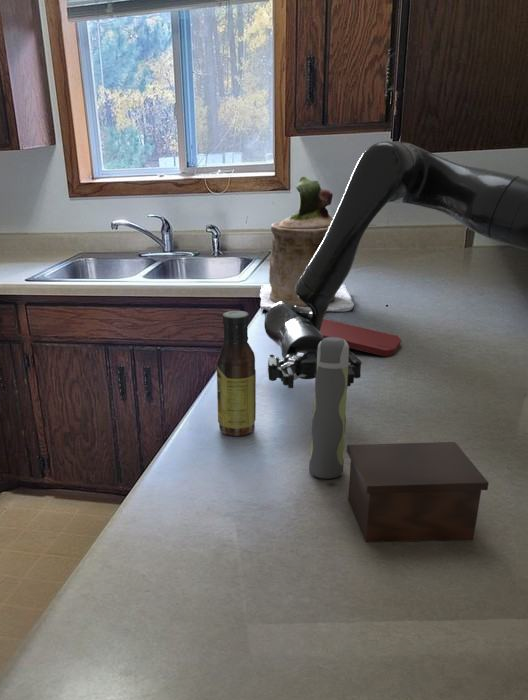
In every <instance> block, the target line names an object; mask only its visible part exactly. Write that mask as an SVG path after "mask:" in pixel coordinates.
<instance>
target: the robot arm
mask: <svg viewBox="0 0 528 700" xmlns="http://www.w3.org/2000/svg"><path fill="white" fill-rule="evenodd" d="M396 203H397V204H398V203H400V204H408V205H414V206H419V207H422V208H426V209H431V210H434V211H438V212H441V213H443V214H445V215H447V216H449V217H451V218H452V219H454V220H456V221H457V222H458V223H460V224H461V225H463V226H464V227H466V228H468V229H469V230H470V231H473V232H475V233H476V234H478V235H479V236H480V235H481V236H482V237H485V238H486V239H490V240H492V241H496V242H499V243H502V244H504V245H507V246H511V247H514V248H517V249H520V250H524V251H528V178H527V177H523V176H520V175H516V174H511V173H508V172H503V171H498V170H494V169H488V168H480V167H473V166H468V165H464V164H459V163H457V162H454V161H451V160H448V159H446V158H444V157H441V156H440V155H436V154H435V153H432V152H431V151H428V150H425V149H424V148H422V147H419V146H417V145H415V144H413V143H409V142H404V141H390V140H385V141H379V142H376V143H373V144H372V145H370V146H369V147H368V148H366V149H365V151H363V153H362V155H361V156H360V158H359V159H358V161H357V163H356V165H355V167H354V170H353V172H352V174H351V176H350V179H349V181H348V184H347V186H346V188H345V191H344V193H343V196H342V198H341V201H340V203H339V205H338V207H337V208H336V209H337V210H336V212H335V213H334V216H333V217H334V218H333V217H332V218H333V221H332V223H331V225H330V227H329V229H328V231H327V233H326V235H325V237H324V239H323V241H322V242H321V244H320V246H319V248H318V249H317V251H316V253H315V255H314V256H313V258H312V259H311V261H310V263H309V264H308V266H307V268H306V269H305V271H304V272H303V274H302V276H301V277H300V279H299V281H298V282H297V285H296V288H295V291H296V294H297V296H298V297H299V298H300V299H301V300H302V301H303V302H304V303H305V304H306V305H308V306H309V307H310V308H311V311H305V310H303V309H301V308H299V307H297V306H295V305H293V304H291V303H288V302H278V303H276V304H274V305H273V306H272V307H271V308H270V309H269V310H267V312H266V314H265V317H264V331H265V334H266V335H267V337H268V339H270V340H271V341H273V342H274V344H276V345H278V346H279V347H280V350H281V351H280V352H281V357H282V359H281V358H280V357H279V356H276V355H275V354H272V353H271V354H268V355H267V374H268V380H269V381H271V382H275V381H277V379H280V381H281V382H282V385H284V386H287V388H288V389H294V386H295V385H294V384H295V383H294V381H296V380H298V379H299V380H312V379H315V377H316V372H317V353H318V345H319V343H320V342H321V341H322V340H323V339H324V337H323V335H322V334H321V333H320V329H321V326H322V322H323V319H325V317H326V313H327V312H328V311H327V308H328V306H329V304H330V302H331V300H332V299H333V297H334V296H335V294H336V293H337V291H338V290H339V288H340V287H341V285H343V283H344V282H345V280H346V279H347V277H348V276H349V274H350V272H351V270H352V268H353V265H354V262H355V259H356V256H357V254H358V251H359V250H358V249H359V246H360V243H361V241H362V238H363V236H364V234H365V233H366V230H367V229H368V227H369V226H370V224H371V223H372V221H373V220H374V218H375V217H376V216H377V215H378V214H379V212H381V210H382V209H383V208H384V207H385V206H386V205H387V204H396ZM348 359H349V361H348V386H347V387H351V385H352V384H354V382H355V379H359V378H361V375H362V374H361V370H362V364H363V363H362V361H361V360H360V358H359V357H358V356H357V355H356V354H355V353H354V352H352V351H349V357H348Z"/></svg>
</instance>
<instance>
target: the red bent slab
mask: <svg viewBox="0 0 528 700" xmlns="http://www.w3.org/2000/svg"><path fill="white" fill-rule="evenodd" d="M320 333H321V334H322V335H323V337H324V338H328V337H336V338H342V339H344V340H345V341H346V342H347V343H348V346H349V349H353V350H357V351H361V352H363V353H364V352H365V353H369V354H373V355H377V356H381V357H390V356H393V355H394V354H395V353H396V352H397V350H398V349H399V348H400V346H401V344H402V339H401V338H400V337H399V336H398V335H397V334H392V333H389V332H384V331H379V330H375V329H370V328H366V327H362V326H359V325H354V324H349V323H345V322H341V321H336V320H332V319H327V318H324V319H323V322H322V326H321V329H320Z"/></svg>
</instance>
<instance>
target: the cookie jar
mask: <svg viewBox="0 0 528 700" xmlns="http://www.w3.org/2000/svg"><path fill="white" fill-rule="evenodd" d="M295 188H296V190H297V192H298V193H299V199H300V204H299V209H298V210H297V211H295V212H293V213H292V214H290V216H288V217H286V218H284V219H283V220H280V221H277V222H273V223H272V224H271V225H270V231H271V233H272V239H271V240H272V242H271V245H272V248H271V254H270V257H269V273H268V282H269V284H266V285H265V284H264V285H261V287H260V290H259V298H260V302H259V306H260V309H261V311H263V310H266V311H268V310H269V309H270V308H271V307H272V306H273V305H274V304H276V303H278V302H288V303H291V304H293V305H295V306H297V307H299V308H301V309H303V310H305V311H307V312H310V311H311V308H310V307H309V306H308V305H306V304H305V303H304V302H303V301H302V300H301V299H300V298H299V297H298V296H297V294H296V291H295V288H296V285H297V282H298V281H299V279H300V277H301V276H302V274H303V272H304V271H305V269H306V268H307V266H308V264H309V263H310V261H311V259H312V258H313V256H314V255H315V253H316V251H317V249H318V248H319V246H320V244H321V242H322V241H323V239H324V237H325V235H326V233H327V231H328V229H329V227H330V225H331V223H332V221H333V218H334V216H331V215H330V213H329V210H328V208H326V207H328V206H330V205H332V201H333V196H334V195H333V192H332V191H331V190H329V189H325V188H321V184H320V182H319V181H318V180H310V179H308V178H307V177H306V176H301V177H300V178H299V182H298V184H297V185H296V187H295ZM354 306H355V302H353V300H352V296H351V294H350V293H349V291H348V290H347V287H346V285H345V284H342V285H341V287H340V288H339V290H338V291H337V293H336V294H335V296H334V297H333V299H332V300H331V302H330V304H329V306H328V308H327V311H326V312H340V313H341V312H343V313H344V312H349V311H352V309H353V307H354Z"/></svg>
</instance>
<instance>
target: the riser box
mask: <svg viewBox="0 0 528 700" xmlns="http://www.w3.org/2000/svg"><path fill="white" fill-rule="evenodd" d="M346 453H347V455H348V457H349V459H350V464H349V465H350V466H349V477H348V480H349V481H348V493H347V501H348V504H349V506H350V508H351V511H352V513H353V516H354V518H355V520H356V522H357V525H358V528H359V530H360V532H361V535H362V537H363V539H364V542H365V543H387V542H388V543H390V542H391V543H392V542H429V541H432V542H433V541H434V542H435V541H466V540H467V541H468V540H474V537H475V531H476V526H477V518H478V512H479V506H480V500H481V495H482V491H487V490H488V489H489V481H488V480H487V478H485V476H484V475H483V474H482V472H481V471H480V470H479V469H478V468H477V466H476V465H475V464H474V463H473V462H472V460H471V459H470V458H469V457H468V456H467V455H466V453H465V452H464V451H463V450H462V448H461V447H460V446H459V444H457V442H456V441H437V442H403V443H399V442H398V443H371V444H370V443H369V444H347V446H346Z"/></svg>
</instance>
